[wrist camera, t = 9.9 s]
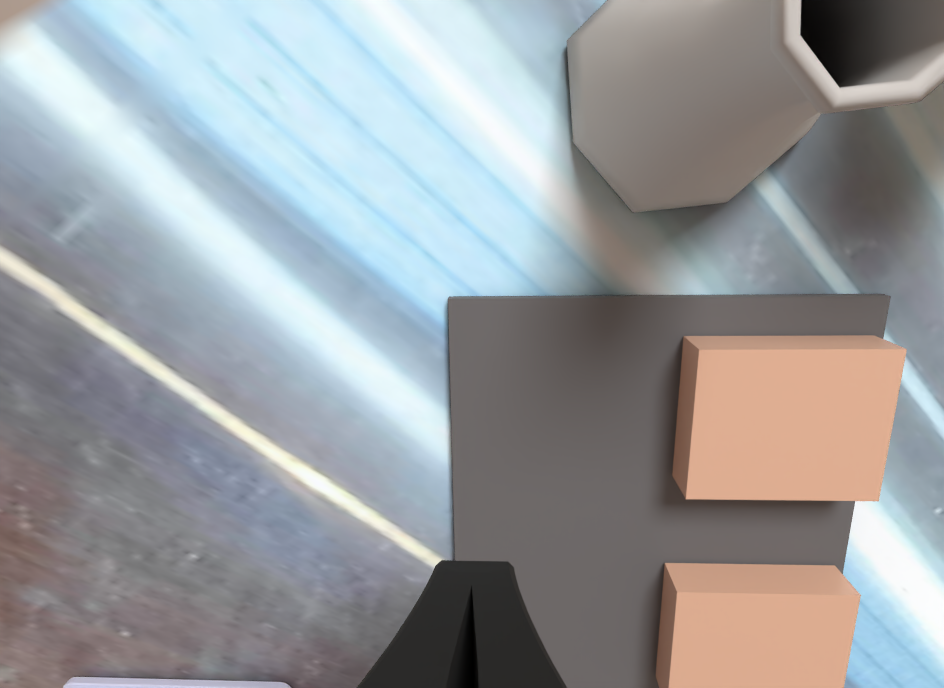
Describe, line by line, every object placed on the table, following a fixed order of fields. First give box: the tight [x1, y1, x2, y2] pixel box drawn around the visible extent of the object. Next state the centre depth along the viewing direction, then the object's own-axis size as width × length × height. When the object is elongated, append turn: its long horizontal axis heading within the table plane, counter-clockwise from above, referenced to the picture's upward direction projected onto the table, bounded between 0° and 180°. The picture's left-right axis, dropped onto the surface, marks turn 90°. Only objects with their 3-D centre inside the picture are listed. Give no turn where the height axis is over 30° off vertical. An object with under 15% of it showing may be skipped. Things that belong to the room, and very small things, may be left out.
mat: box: [448, 294, 890, 688], centre depth 22 cm, size 14×16×1 cm
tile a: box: [656, 563, 861, 688], centre depth 22 cm, size 2×5×6 cm
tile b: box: [672, 335, 907, 501], centre depth 19 cm, size 2×5×6 cm
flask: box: [567, 0, 944, 213], centre depth 13 cm, size 7×7×10 cm
